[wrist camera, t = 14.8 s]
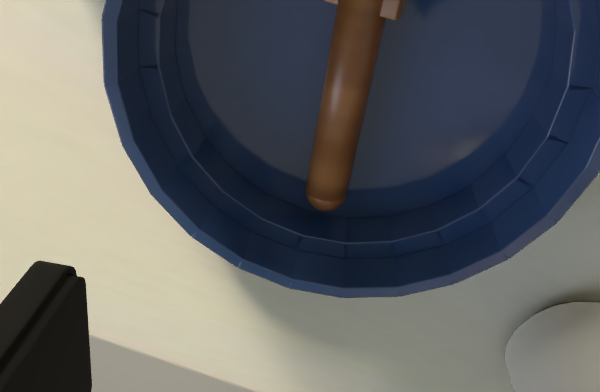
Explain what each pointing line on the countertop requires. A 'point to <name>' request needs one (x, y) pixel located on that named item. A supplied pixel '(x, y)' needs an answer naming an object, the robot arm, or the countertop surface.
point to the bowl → (373, 138)
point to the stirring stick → (346, 96)
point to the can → (557, 350)
